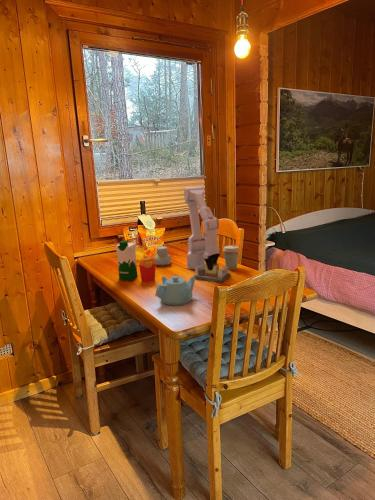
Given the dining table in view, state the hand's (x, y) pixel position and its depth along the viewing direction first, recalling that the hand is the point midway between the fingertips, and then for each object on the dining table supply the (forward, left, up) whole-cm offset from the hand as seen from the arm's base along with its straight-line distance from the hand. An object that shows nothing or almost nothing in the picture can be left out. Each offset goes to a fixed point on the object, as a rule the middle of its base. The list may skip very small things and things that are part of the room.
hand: (211, 268), depth 184 cm
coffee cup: (+3, +18, -5) cm, 19 cm away
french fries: (-27, -17, -5) cm, 32 cm away
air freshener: (-36, +10, -5) cm, 38 cm away
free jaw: (+6, 0, -3) cm, 7 cm away
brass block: (0, 0, -3) cm, 3 cm away
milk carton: (-39, -18, -5) cm, 43 cm away
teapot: (-1, -33, -5) cm, 33 cm away
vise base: (0, 0, -5) cm, 5 cm away
